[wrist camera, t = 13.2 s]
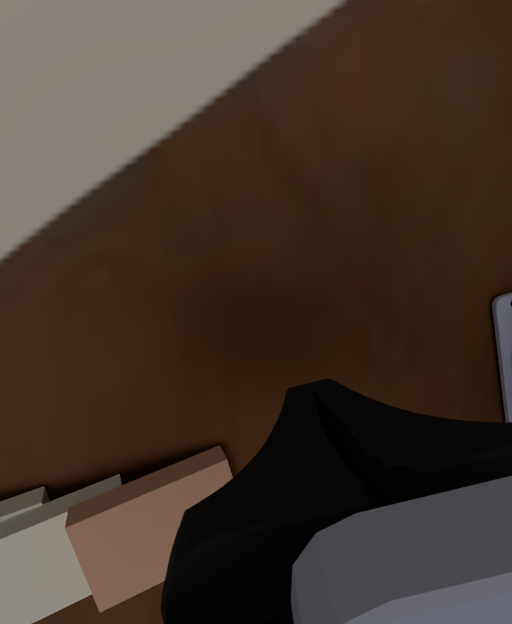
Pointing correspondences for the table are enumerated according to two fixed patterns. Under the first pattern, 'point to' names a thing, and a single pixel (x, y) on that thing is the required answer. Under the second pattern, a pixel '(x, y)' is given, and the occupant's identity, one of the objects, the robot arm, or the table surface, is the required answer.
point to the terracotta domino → (139, 525)
